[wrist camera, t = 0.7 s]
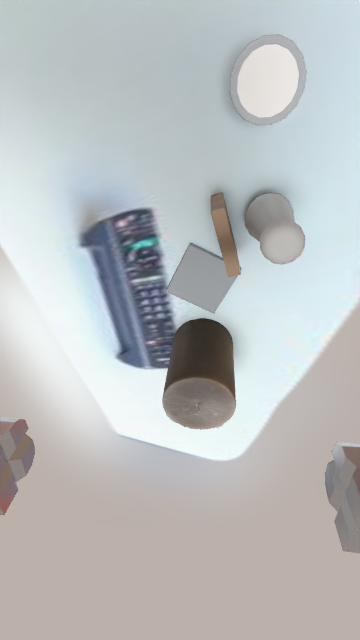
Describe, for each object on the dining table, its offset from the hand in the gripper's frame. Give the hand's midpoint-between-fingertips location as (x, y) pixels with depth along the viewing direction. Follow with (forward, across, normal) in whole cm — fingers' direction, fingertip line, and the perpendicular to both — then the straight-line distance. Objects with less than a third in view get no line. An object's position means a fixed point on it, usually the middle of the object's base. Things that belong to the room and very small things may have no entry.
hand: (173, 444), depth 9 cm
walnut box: (+39, -2, +4) cm, 40 cm away
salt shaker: (+40, -7, +3) cm, 40 cm away
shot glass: (+39, -5, -10) cm, 41 cm away
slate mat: (+39, +1, +12) cm, 41 cm away
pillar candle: (+40, +1, +24) cm, 46 cm away
